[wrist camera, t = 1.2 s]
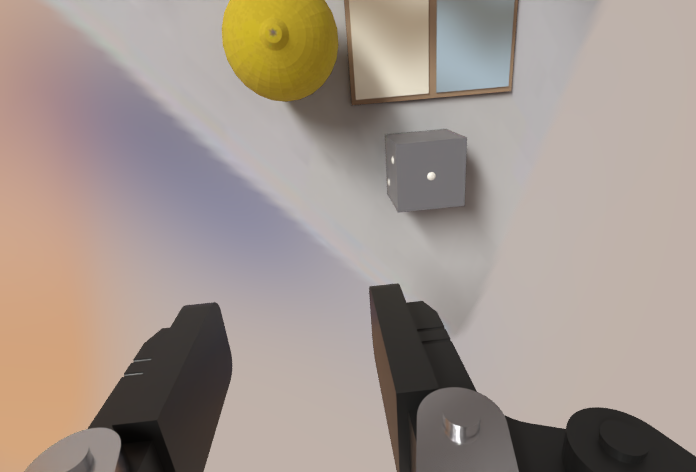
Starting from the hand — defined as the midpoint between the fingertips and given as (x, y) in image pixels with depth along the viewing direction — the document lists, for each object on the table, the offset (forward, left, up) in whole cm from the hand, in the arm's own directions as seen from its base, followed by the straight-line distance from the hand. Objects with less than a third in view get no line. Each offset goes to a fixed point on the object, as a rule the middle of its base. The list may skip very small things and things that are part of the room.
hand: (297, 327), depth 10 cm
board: (-9, +8, -17) cm, 21 cm away
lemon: (-7, 0, -17) cm, 19 cm away
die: (0, +7, -17) cm, 19 cm away
